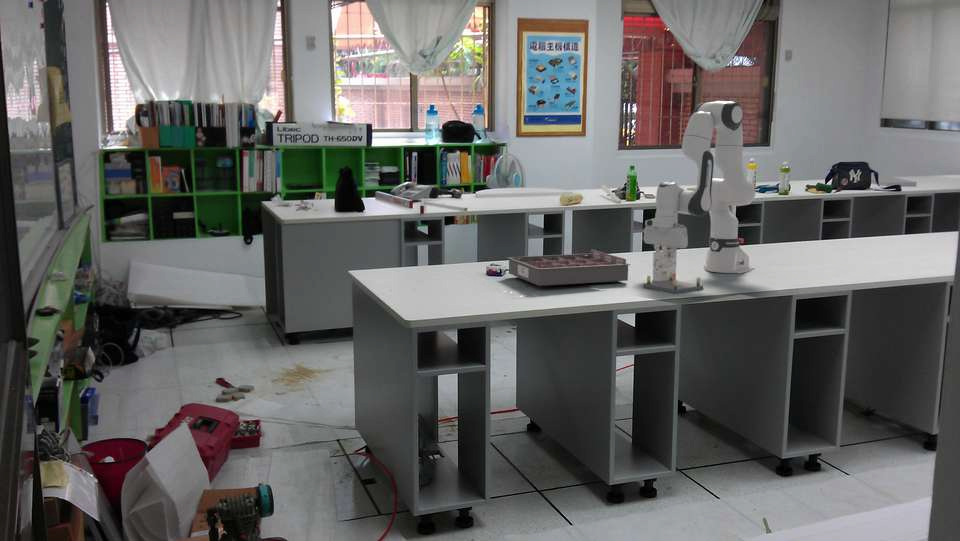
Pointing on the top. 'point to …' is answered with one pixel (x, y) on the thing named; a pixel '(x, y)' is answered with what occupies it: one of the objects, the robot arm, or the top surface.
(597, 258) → the organizer tray
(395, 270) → the top surface
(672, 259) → the ink cartridge box
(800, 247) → the top surface
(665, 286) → the chassis plate
